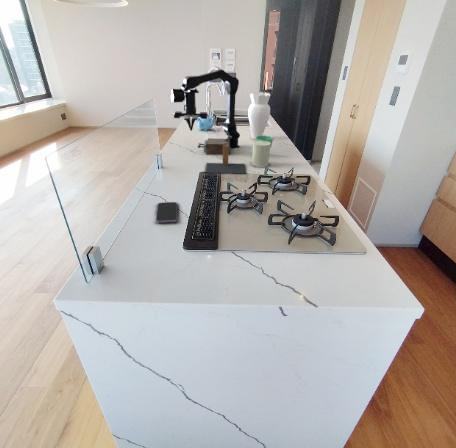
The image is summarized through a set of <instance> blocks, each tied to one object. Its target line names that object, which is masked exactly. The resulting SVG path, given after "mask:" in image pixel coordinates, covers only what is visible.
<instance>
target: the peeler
mask: <svg viewBox="0 0 456 448" xmlns="http://www.w3.org/2000/svg"><path fill="white" fill-rule="evenodd" d="M229 156H230V155H229V142H223V155H222V163H223V165H228V164H229V158H230V157H229Z"/></svg>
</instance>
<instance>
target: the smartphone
mask: <svg viewBox="0 0 456 448" xmlns="http://www.w3.org/2000/svg"><path fill="white" fill-rule="evenodd" d="M177 221H178V203H177V201H176V202H175V201H171V202H169V201H167V202H158V204H157V209H156V216H155V222H156V223H157V224H158V223H160V224H161V223H176V222H177Z"/></svg>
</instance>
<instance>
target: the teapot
mask: <svg viewBox="0 0 456 448" xmlns="http://www.w3.org/2000/svg"><path fill="white" fill-rule="evenodd" d="M212 117H213V114H211V115H209V117H208V116H207V119H201V118H200V117H198V119H197V120H196V123H197V127H198V129H199V131H203V130H204V132H208V131H211V130H212V128H213V126H214V124H215V123H214V122H215V121H214V120H215V117H213V118H212Z"/></svg>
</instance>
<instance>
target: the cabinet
mask: <svg viewBox="0 0 456 448" xmlns="http://www.w3.org/2000/svg"><path fill="white" fill-rule="evenodd" d="M206 140H207V150H206V155H217V156H220V155H221V156H223V142H229V156H230V155H231V154H230V153H231V148H230V139H227V138H210V137H209V138H207V139H206Z"/></svg>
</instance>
